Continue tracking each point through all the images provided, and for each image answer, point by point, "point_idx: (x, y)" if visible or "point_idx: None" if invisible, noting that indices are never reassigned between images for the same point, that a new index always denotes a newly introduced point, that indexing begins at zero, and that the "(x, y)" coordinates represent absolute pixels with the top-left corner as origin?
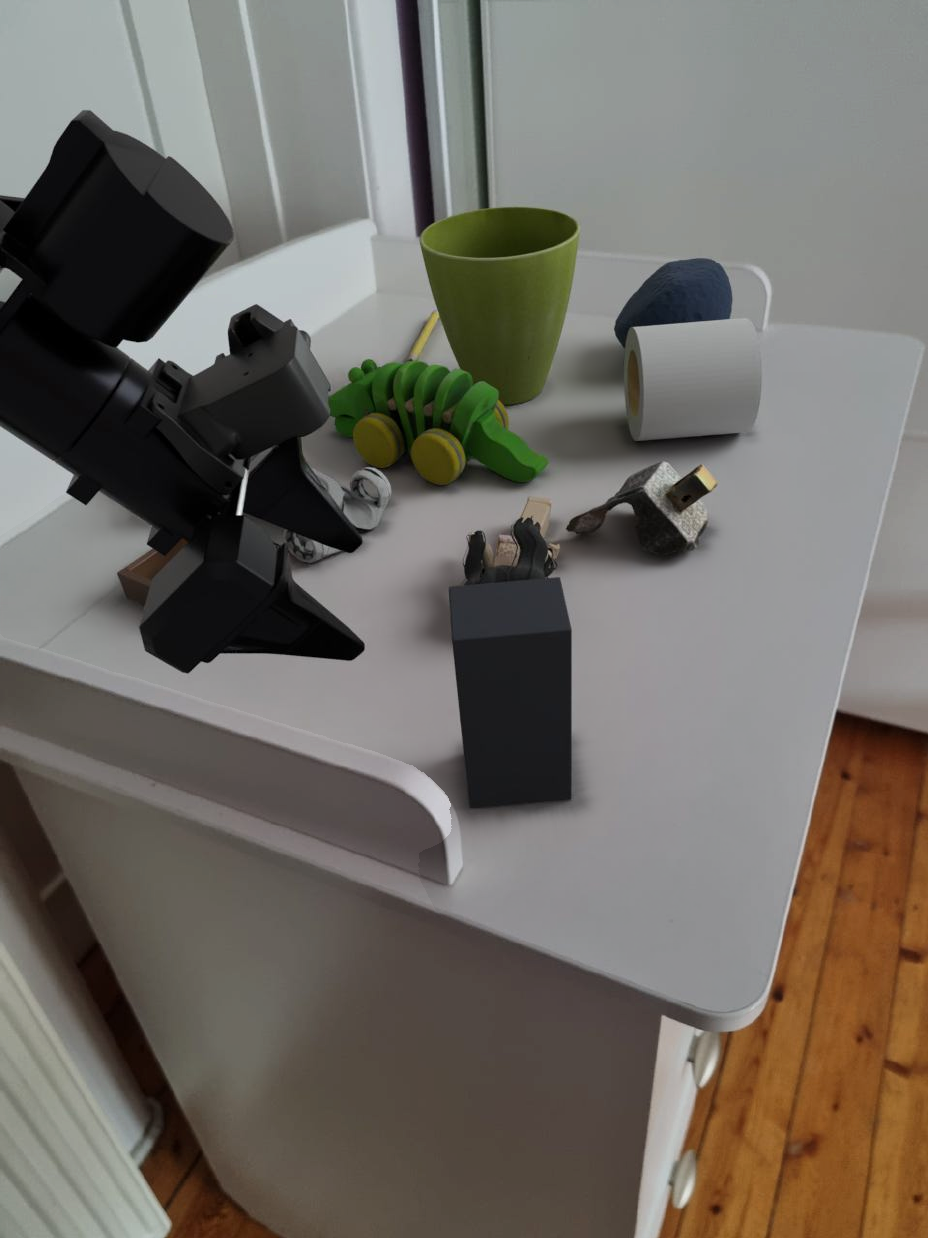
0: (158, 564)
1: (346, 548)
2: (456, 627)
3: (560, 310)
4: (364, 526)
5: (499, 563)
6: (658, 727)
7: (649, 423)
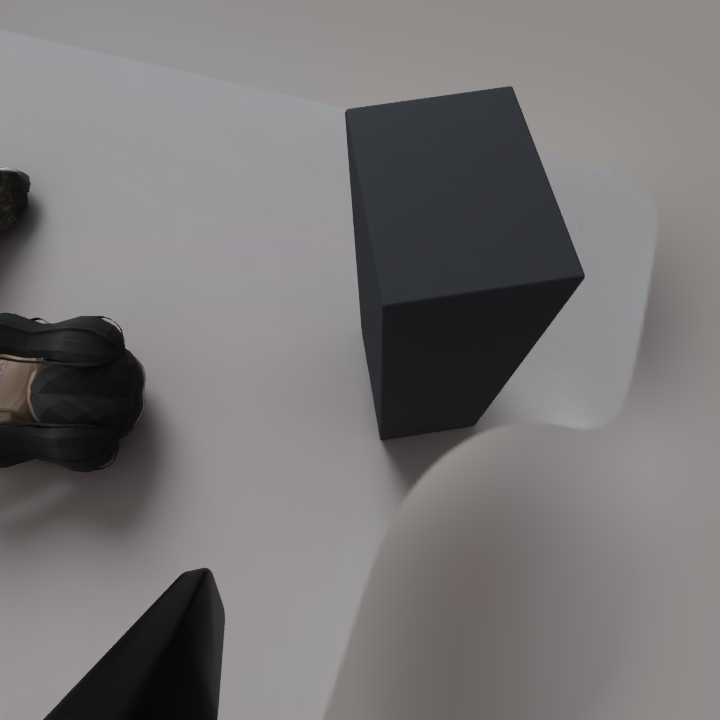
0: None
1: (218, 631)
2: (542, 271)
3: None
4: None
5: (11, 399)
6: (331, 231)
7: None
